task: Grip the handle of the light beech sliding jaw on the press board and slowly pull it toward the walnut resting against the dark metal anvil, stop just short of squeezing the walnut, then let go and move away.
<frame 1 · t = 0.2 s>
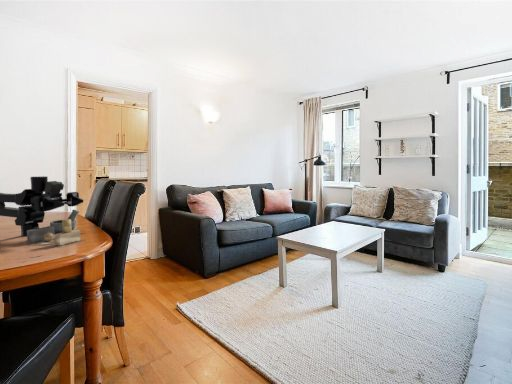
hand: (73, 202, 119), 17 cm above the table, tool horizontal, fingers open, 9 cm apart
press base: (56, 245, 114), on the table
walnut: (48, 241, 115), point 1 cm above the table, touching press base
mortar and pestle: (65, 236, 130), on the table
jaw: (67, 231, 112), point 6 cm above the table, slide at 0.0 cm
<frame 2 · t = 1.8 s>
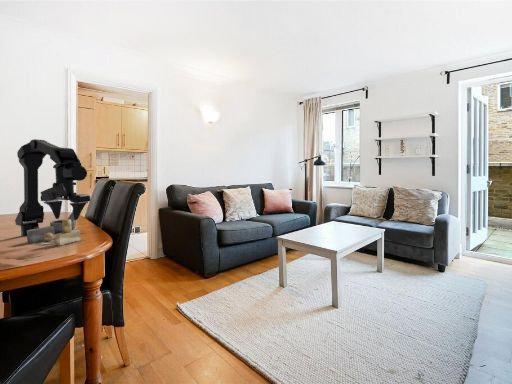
hand: (66, 219, 112), 11 cm above the table, tool pointing down, fingers open, 9 cm apart
nothing on the table moved.
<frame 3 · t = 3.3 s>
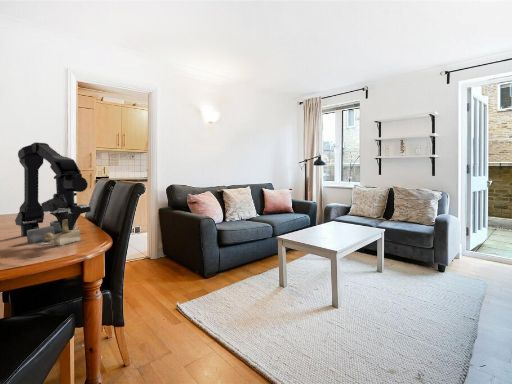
hand: (67, 229, 112), 7 cm above the table, tool pointing down, fingers closed on jaw, 3 cm apart
jaw: (67, 231, 112), point 6 cm above the table, slide at 0.0 cm, touching gripper
everything else where it was.
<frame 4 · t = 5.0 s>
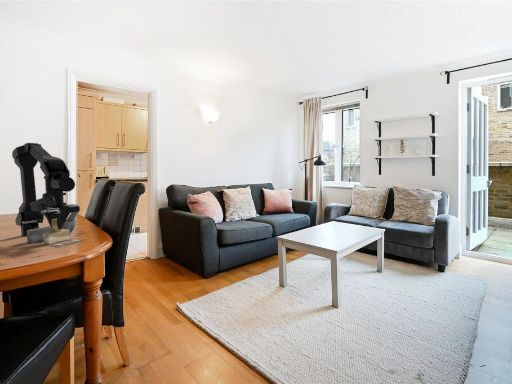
hand: (56, 229, 113), 7 cm above the table, tool pointing down, fingers closed on jaw, 3 cm apart
jaw: (56, 230, 114), point 6 cm above the table, slide at 5.4 cm, touching gripper
everything else where it was.
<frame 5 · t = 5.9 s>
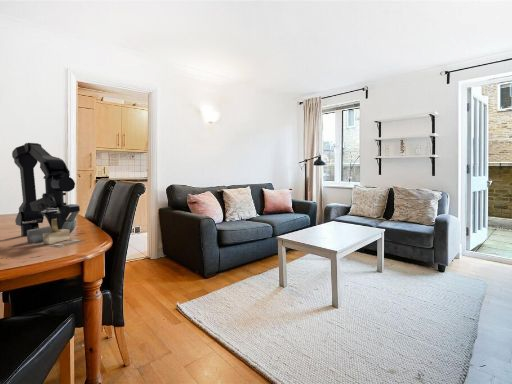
hand: (56, 229, 113), 7 cm above the table, tool pointing down, fingers closed on jaw, 3 cm apart
jaw: (56, 230, 114), point 6 cm above the table, slide at 5.4 cm, touching gripper
everything else where it was.
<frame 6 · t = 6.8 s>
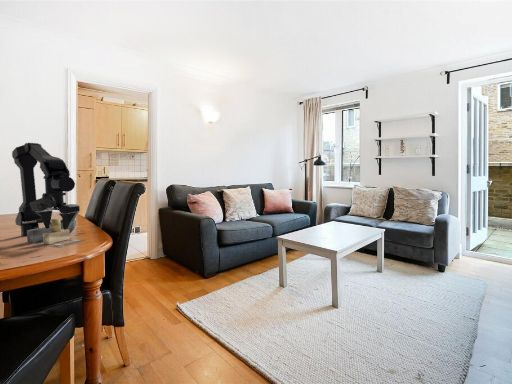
hand: (56, 229, 113), 7 cm above the table, tool pointing down, fingers open, 9 cm apart
jaw: (56, 230, 114), point 6 cm above the table, slide at 5.4 cm
everything else where it was.
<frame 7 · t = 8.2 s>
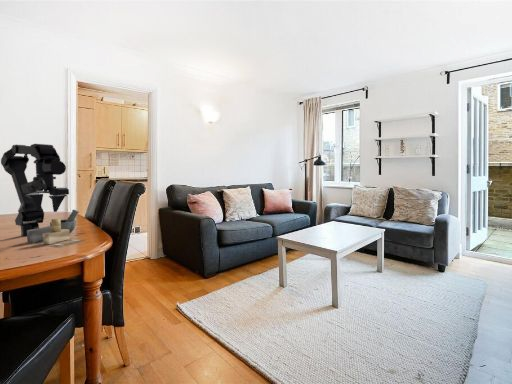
hand: (46, 211, 119), 13 cm above the table, tool pointing down, fingers open, 9 cm apart
nothing on the table moved.
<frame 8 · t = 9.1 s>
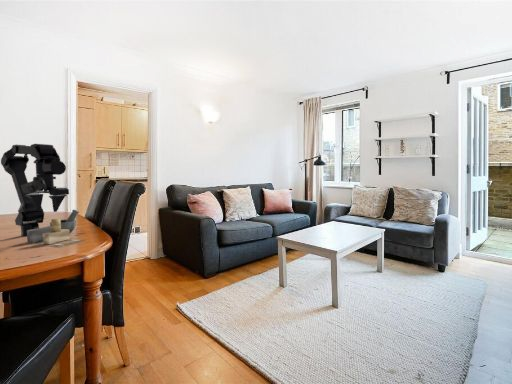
hand: (46, 211, 119), 13 cm above the table, tool pointing down, fingers open, 9 cm apart
nothing on the table moved.
at the end: jaw slide at 5.4 cm; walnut moved 0.0 cm from its start; the gripper is holding nothing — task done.
